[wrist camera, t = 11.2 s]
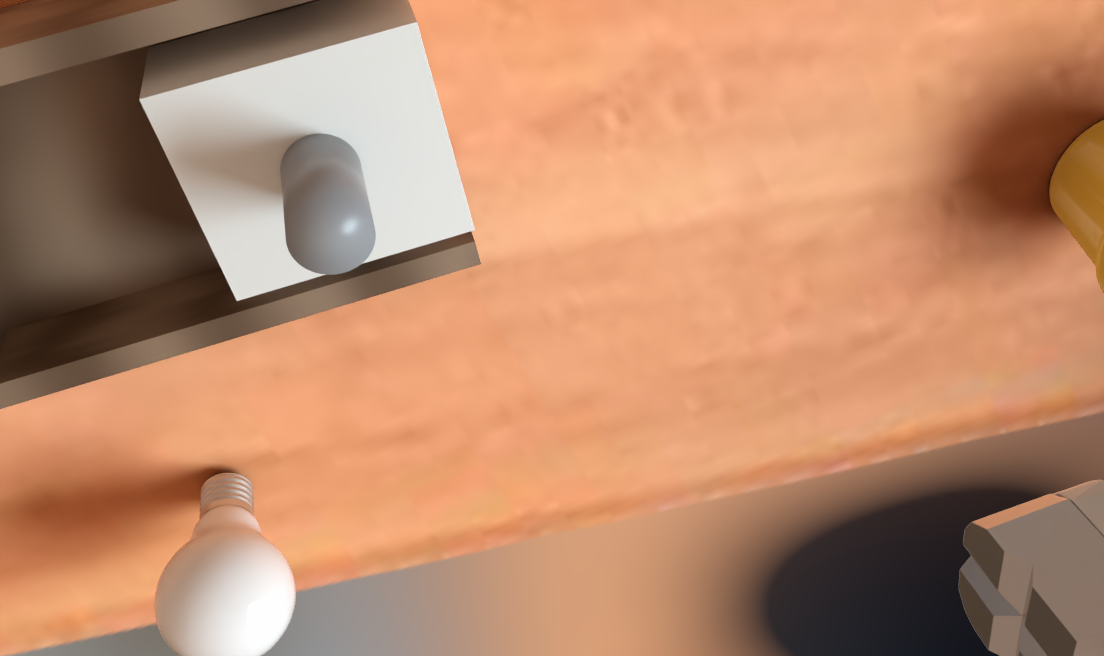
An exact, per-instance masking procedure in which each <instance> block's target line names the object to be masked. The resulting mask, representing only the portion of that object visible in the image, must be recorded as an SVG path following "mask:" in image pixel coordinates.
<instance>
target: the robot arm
mask: <svg viewBox="0 0 1104 656" xmlns="http://www.w3.org/2000/svg"><path fill="white" fill-rule="evenodd" d="M963 545H964V546H965V547H966V549H967V550H968V551H969V553H970V554H971V557H970V558H969V559H968V560H967V561H966V562H965V564H964V565H963V566H962V567H961V569H960V576H959V591H960V595H961V598H962V602H963V605H964V609H965V612H966V614H967V616H968V618H969V620H970V621H971V624H972V626H973V627H974V629H975V631H976V632H977V634H978V635H979V637H980V638H981V640H982V641H983V643H984V644H985V645H986V647H987V648H988V650H990V651H992V652H994V653H996V654H998V655H1000V656H1104V481H1103V480H1092V481H1089V482H1086V483H1083V484H1080V485H1077V486H1074V487H1072V488H1069V489H1066V490H1063V491H1060V492H1057V493H1055V494H1049V495H1046V496H1043V497H1040V498H1037V499H1034V500H1032V501H1029V502H1026V503H1023V504H1021V505H1018V506H1015V507H1012V508H1009V509H1007V510H1004V511H1001V512H998V513H996V514H993V515H990V516H987V517H984V518H982V519H979V520H976V521H973V522H971V523H970V524H969V525H968V526H967V527H966V528H965V533H964V540H963Z"/></svg>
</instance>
